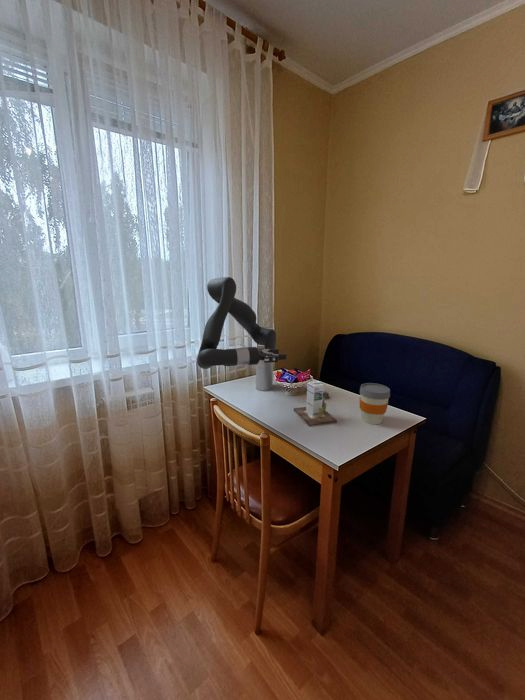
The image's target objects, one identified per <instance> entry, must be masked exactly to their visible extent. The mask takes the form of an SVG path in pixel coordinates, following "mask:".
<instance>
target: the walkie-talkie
mask: <svg viewBox="0 0 525 700" xmlns="http://www.w3.org/2000/svg"><path fill="white" fill-rule="evenodd" d="M305 391H306V392H307V388H306V389H305ZM329 396H330V395H329V392H327V391H326V390H325V396H324V400H326V399H327V400H328V399H329ZM324 403H326V401H324Z"/></svg>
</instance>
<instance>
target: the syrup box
mask: <svg viewBox="0 0 525 700" xmlns="http://www.w3.org/2000/svg"><path fill="white" fill-rule="evenodd" d="M306 385H307V387H306V389H307V391H306V405H305V407H306V412H307V413H308V414H309V415H310V416H312V417H314V416H318V415H319V408H322V415H323V411H324V402H325V399H324V396H325V391H326V384H325V383H323V382H322V381H321V380H320V381H319V380H316V381H307V384H306Z"/></svg>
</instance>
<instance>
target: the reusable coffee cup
mask: <svg viewBox="0 0 525 700" xmlns="http://www.w3.org/2000/svg"><path fill="white" fill-rule="evenodd" d="M359 395H360V396H359V398H358V399H359V400H358V401H359V409H360V419H361V421H363V422H364V423H366V424H370V425H380V424H382V423H381V422H383V420H384V415H385V413H386V412H387V409H388V405H389V399H390V397H391V389H390V388H389V387H388V386H386V385H384V384H380V383H374V382H366V383H362V384H360V388H359Z"/></svg>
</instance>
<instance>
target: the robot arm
mask: <svg viewBox="0 0 525 700" xmlns="http://www.w3.org/2000/svg"><path fill="white" fill-rule="evenodd" d="M207 282H208V283H206V284H207V285H206V289H207V293H208V295H209V297H210V298H211V299H212V300H213V301H215V302H216V303H217V304H218V305H217V307H216V308H215V310H213V312H212V313H211V315H210V317H209V318H208V320H207V321H206V323H205V325H204V330H203V334H202V340H201V344H200V347H199V350H198V353H197V357H196V363H197V365H198V367H200V368H201V369H204V370H208V369H210V368H212V367H214V366H215V367H216V366H218V367H219V366H224V367H234V366H237V367H239V366H241V367H244V366H256V369H255V389H256V390H257V391H260V392H261V391H262V392H263V391H265V392H266V391H271V390H272V389H273V382H274V363H279V361H282V360H284V361H285V360H286V359H287V354H286V353H281V354H280V353H279V352H280V351H279V349H277V348H276V343H277V333H276V331H275V330H274V329H273V328H267V327H262V326H260V325H259V324H258V323H257V314H256V312H255V311H254V310H253V309H252V307H251V306H250V304H248V303H246V302H245V301H242V300H240V299H239V298H236V297H235V296H236V292H237V284H236V281H235V279H234V278H232V277H231V276H230V277H229V276H225V277H216V278H215V277H214V278H213V279H210V280H209V281H207ZM228 313H229V314H230V316H231V317H233V319H235V321H236V322H237V323H238V324H239V325H240V326H241V327H242V328H243V329H244V330H245V331H246V332H247V333H248V334H249V336H250V337H251V339H252V341H254V343H255V344H257V345H259V346H263V347H262V348H258V347H257V346H249V347H248V346H247V347H246V346H245V347H237V348H225V349H223V348H218V346H219V344H220V341H221V337H222V333H223V327H224V324H225V322H226V319H227V316H228Z"/></svg>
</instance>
